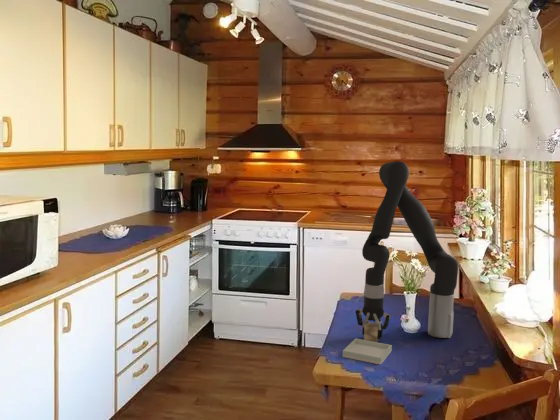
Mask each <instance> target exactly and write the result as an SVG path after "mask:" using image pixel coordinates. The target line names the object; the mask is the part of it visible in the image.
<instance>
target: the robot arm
mask: <svg viewBox="0 0 560 420" xmlns="http://www.w3.org/2000/svg"><path fill="white" fill-rule="evenodd" d="M378 177H379V179H380V181H381V183H382V184H383V186H384V188H385V189H386V191H385V194H384V197H383V199H382V201H381V203H380V204H379V206H378V209H377V211H376V213H375V216H374V219H373V223H372V227H371V230H370V233H369V234H368V237H367V239H366V241H365V242H364V244H363V246H362V251H361V253H362V257H363V259H365V261H368V262H372V263H374V266H373V267H369V268H366V270H365V278H364V280H365V281H364V289H363V290H364V291H363V308H357V309H356V310H355V317H356V322H357V325H358V326H361V327H362V333H361V334H362V336H364V326H365V325H366V324H367V323H368V322H372V321H373V322H374V323H376V324H377V326H378V329H379V330H378V339H379V340H381V339H382V337H383V332H384V331H383V330H386V329H387V328H388V327H389V323H390V320H391V317H392V315H391V313H387V312H385V311H384V302H385V301H384V299H385V287H384V286H385V285H384V284H385V283H384V281H385V272H386V270H387V266H388V264H389V259H390V250H389V249H388V247H387V246H385V244H384V245H383V244H380V242H381V241H382V240H387V239H389V237H390V234H391V231H392V226H393V224H394V223H393V221H394V218H395V214H396V210H397V209H398V210H399V212H400V214H401V216H402V217H403V220H404V222H405V223H406V225H407V226H408V229H409V231H410V232H411V233H412V235H413V237H414V239H415V240H416V242H417V243H418V245H419V246H420V248H421V250H422V252H423V254H424V256H425V257H424V258H425V259H426V262H427V264H428V266H429V268H430V270H431V271H432V272H433V273H434V281H433V283H432V284H430V286H429V287H430V288H429V302H428V303H429V304H428V305H429V306H428V322H427V334H428V335H429V336H431V337H434V338H440V339H442V338H443V339H451V337H452V336H453V333H454V332H453V330H454V314H455V311H454V302H455V301H454V299H455V296H454V295H455V290H456V289H457V283H458V275H459V264H458V260H457V259H456V257H454V256H452V255H450V254H449V253H447V252H446V251H445V249H444V248H443V246H442V245H441V242H439V240H438V238H437V237H438V236H437V234H436V229H435V225H434V223H433V220H432V218H431V215H430V214H429V212H428V211H427V208H426V206H424V204H422V202H421V201H420V200H419V199H418V198H417V197H415V195H414V194H413V193H412V192H411V191H410V190H409V188H408V187H407V185H406V184H407V183H408V180H409V177H410V169H409V167H408V165H407V164H406V163H405V162H404V161H389V162H385V163H383V164H381V166H380V168H379V173H378ZM362 315H363V316H364V320H363V316H362ZM382 317H383V319H384V323H383V321H382Z"/></svg>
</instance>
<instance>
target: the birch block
mask: <svg viewBox="0 0 560 420" xmlns="http://www.w3.org/2000/svg"><path fill="white" fill-rule="evenodd" d="M378 330H379V329H378V326H377V324H376V322H372V321H368V323H367V324H366V325H365V326H364V335H363V340H367V341H372V342H378V343H379V341H380V339H378Z"/></svg>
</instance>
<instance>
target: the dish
mask: <svg viewBox="0 0 560 420" xmlns="http://www.w3.org/2000/svg"><path fill="white" fill-rule="evenodd" d="M392 349H393V344H389V343H388V344H387V343H382V342H379V341H378V342H372V341H367V340H364V339H361V338H354V339H353V340H352V341H351V342H350V343H349V344H348V345H346V347H344V349H342V358H347V359H352V360H355V361H356V360H357V361H361V362H366V363H372V364H376V365H382V364H383V362H384V361H385V360H386V359H387V358H388V356H389V355H390V354H391V352H393V351H392Z"/></svg>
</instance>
